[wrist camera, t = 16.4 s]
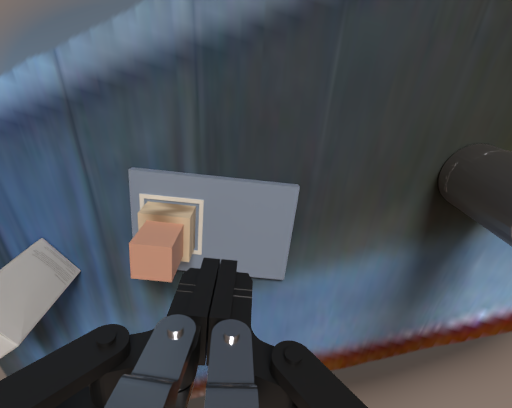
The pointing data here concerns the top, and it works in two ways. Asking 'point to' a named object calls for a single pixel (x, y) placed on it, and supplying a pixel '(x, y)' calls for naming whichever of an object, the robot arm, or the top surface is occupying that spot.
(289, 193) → the board
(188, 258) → the beech base block
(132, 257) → the terracotta block
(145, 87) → the top surface
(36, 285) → the skincare box
